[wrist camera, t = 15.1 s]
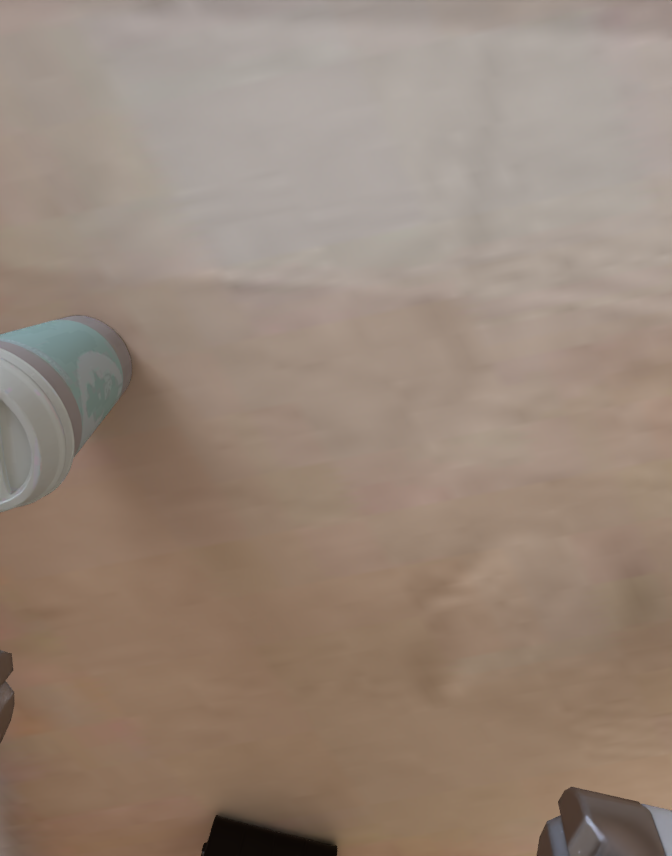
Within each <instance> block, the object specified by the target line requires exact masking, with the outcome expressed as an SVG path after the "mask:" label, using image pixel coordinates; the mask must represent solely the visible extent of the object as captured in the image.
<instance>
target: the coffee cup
mask: <svg viewBox="0 0 672 856" xmlns="http://www.w3.org/2000/svg"><path fill="white" fill-rule="evenodd" d="M131 375H132V362H131V358H130V354H129V352H128V349H127V347H126V345H125V343H124V342H123V340H122V339H121V338H120V336H119V335H118V334H117V333H116V332H115V331H114V330H113V329H112V328H110V327H109V326H108V325H106V324H105V323H103V322H101V321H99V320H97V319H94V318H91V317H87V316H69V317H65V318H61V319H57V320H54V321H49V322H46V323H42V324H38V325H34V326H31V327H27V328H23V329H20V330H16V331H12V332H8V333H5V334H1V335H0V512H3V511H7V510H10V509H13V508H15V507H21V506H25V505H28V504H31V503H33V502H35V501H37V500H39V499H41V498H42V497H44V496H46V495H48V494H49V493H51V492H52V491H54V490H55V489H56V488H57V487H58V486H59V485H60V484H61V483H62V482H63V480H64V479H65V478H66V476H67V474H68V472H69V470H70V468H71V465H72V461H73V458H74V457H75V455H76V454H77V453H78V452H79V450H80V449H81V448H82V446H83V445H84V444H85V442H86V441H87V440H88V439H89V437H90V436H91V435H92V433H93V432H94V431H95V429H96V428H97V427H98V426H99V424H100V423H101V422H102V420H103V419H104V418H105V417H106V415H107V414H108V413H109V411H110V410H111V409H112V407H113V406H114V405H115V404H116V402H117V401H118V399H119V398H120V397H121V395H122V394H123V393H124V391H125V390H126V389H127V387H128V385H129V383H130V380H131Z"/></svg>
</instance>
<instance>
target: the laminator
mask: <svg viewBox="0 0 672 856" xmlns="http://www.w3.org/2000/svg"><path fill="white" fill-rule="evenodd" d="M201 856H337V846H336V845H335V846H331V845H326V844H322V843H318V842H314V841H311V840H306V839H303V838H299V837H295V836H291V835H287V834H283V833H278V832H274V831H271V830H267V829H263V828H259V827H255V826H251V825H248V824H243V823H240V822H236V821H232V820H228V819H225V818H221V817H219V816H218V815H216V817H215V819H214V822H213V826H212V829H211V832H210V836H209V839H208V841H207V843H204V845H203V848H202V854H201Z"/></svg>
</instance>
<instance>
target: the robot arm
mask: <svg viewBox="0 0 672 856" xmlns="http://www.w3.org/2000/svg"><path fill="white" fill-rule="evenodd" d="M12 671H13V661H12V653H8V652H5V651H1V650H0V743H1V741H2V739H3V737H4V735H5V733H6V730H7V728H8V726H9V724H10V721H11V718H12V714H13V709H14V691H13V690H12V689H11V687H10V686H9V685H8V683H7V682H6V681H5V680H6V679H7V678H8V676H9V675H10V674H11V672H12ZM558 804H559V809H560V814H561V815H560V816H558V817H556V818H553V819H551V820H549V821H547V823H546V825H545V827H544V829H543V831H542V833H541V835H540V838H539V844H538V851H537V856H672V811H671V810H667V809H663V808H659V807H654V806H650V805H646V804H640V803H639V802H637V801H633V800H628V799H624V798H620V797H615V796H611V795H606V794H602V793H597V792H593V791H589V790H584V789H580V788H575V787H570V788H568V789H567V790H565V791H564V792H563V794H562V796H561V798H560V799H559V801H558Z"/></svg>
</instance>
